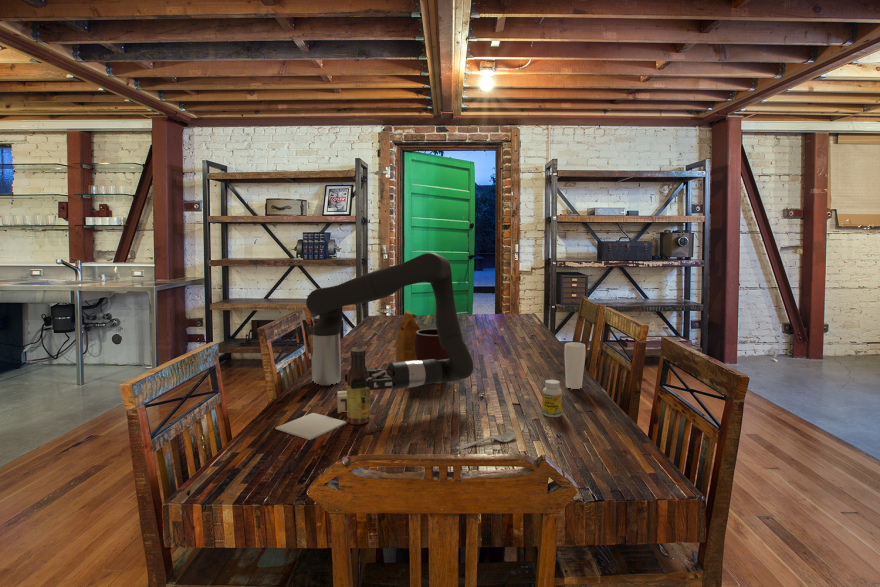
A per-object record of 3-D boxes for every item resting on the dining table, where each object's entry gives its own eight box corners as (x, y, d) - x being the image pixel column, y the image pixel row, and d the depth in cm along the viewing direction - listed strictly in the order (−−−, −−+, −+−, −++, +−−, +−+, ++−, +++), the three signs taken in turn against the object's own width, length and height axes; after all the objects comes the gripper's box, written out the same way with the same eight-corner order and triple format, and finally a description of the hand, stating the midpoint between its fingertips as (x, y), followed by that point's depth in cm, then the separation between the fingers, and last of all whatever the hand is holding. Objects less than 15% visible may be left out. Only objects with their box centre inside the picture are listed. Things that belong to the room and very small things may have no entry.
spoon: (520, 442, 116) (520, 435, 116) (444, 457, 108) (444, 450, 107) (511, 435, 120) (511, 429, 119) (437, 450, 111) (437, 443, 111)
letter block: (338, 407, 139) (337, 391, 139) (355, 406, 140) (354, 390, 140) (337, 413, 134) (337, 396, 134) (355, 412, 135) (355, 395, 135)
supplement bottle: (561, 412, 135) (562, 379, 134) (560, 418, 130) (561, 385, 129) (542, 410, 137) (543, 378, 136) (541, 416, 132) (542, 383, 131)
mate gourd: (408, 381, 165) (408, 325, 163) (423, 371, 178) (423, 319, 176) (450, 386, 160) (450, 328, 157) (462, 375, 173) (462, 322, 170)
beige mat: (275, 429, 123) (275, 427, 123) (313, 413, 134) (313, 412, 134) (309, 440, 116) (309, 438, 116) (346, 423, 127) (346, 421, 127)
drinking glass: (585, 386, 160) (587, 343, 158) (582, 392, 154) (584, 347, 152) (565, 383, 163) (566, 341, 161) (561, 389, 156) (563, 345, 155)
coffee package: (418, 362, 192) (417, 309, 190) (424, 370, 180) (424, 313, 178) (394, 363, 190) (393, 310, 187) (399, 371, 178) (398, 314, 175)
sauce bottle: (365, 426, 124) (364, 353, 122) (343, 424, 125) (341, 352, 123) (373, 417, 131) (372, 347, 128) (352, 416, 132) (351, 346, 130)
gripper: (397, 355, 139) (341, 361, 132) (415, 367, 126) (354, 374, 119) (397, 380, 140) (341, 387, 133) (415, 394, 127) (354, 403, 120)
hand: (347, 381), depth 126 cm, fingers closed on sauce bottle, 6 cm apart
